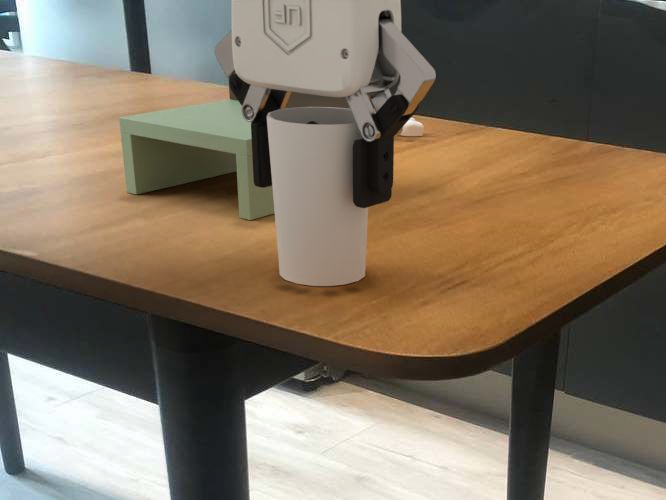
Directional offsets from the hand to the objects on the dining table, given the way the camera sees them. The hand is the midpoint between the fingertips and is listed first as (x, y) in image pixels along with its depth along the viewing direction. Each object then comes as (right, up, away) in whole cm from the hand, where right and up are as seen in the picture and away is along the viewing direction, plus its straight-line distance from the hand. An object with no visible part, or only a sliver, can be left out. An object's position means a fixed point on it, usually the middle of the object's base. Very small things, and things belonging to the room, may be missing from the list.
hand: (321, 191), depth 70 cm
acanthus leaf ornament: (+2, +21, +48) cm, 52 cm away
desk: (-8, +7, +22) cm, 25 cm away
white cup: (0, -5, +3) cm, 6 cm away
